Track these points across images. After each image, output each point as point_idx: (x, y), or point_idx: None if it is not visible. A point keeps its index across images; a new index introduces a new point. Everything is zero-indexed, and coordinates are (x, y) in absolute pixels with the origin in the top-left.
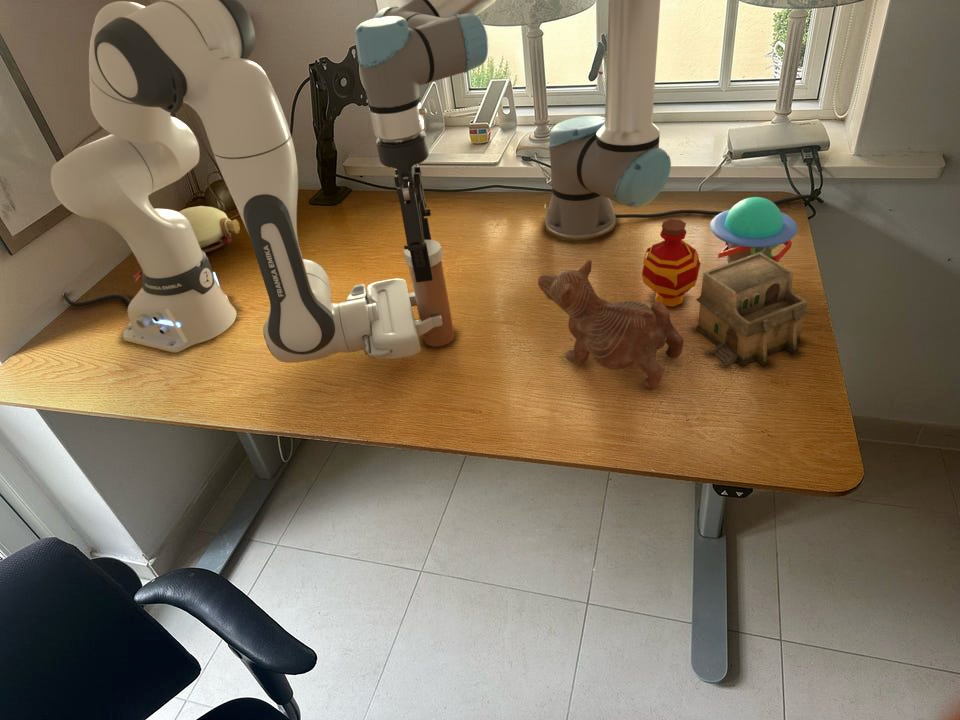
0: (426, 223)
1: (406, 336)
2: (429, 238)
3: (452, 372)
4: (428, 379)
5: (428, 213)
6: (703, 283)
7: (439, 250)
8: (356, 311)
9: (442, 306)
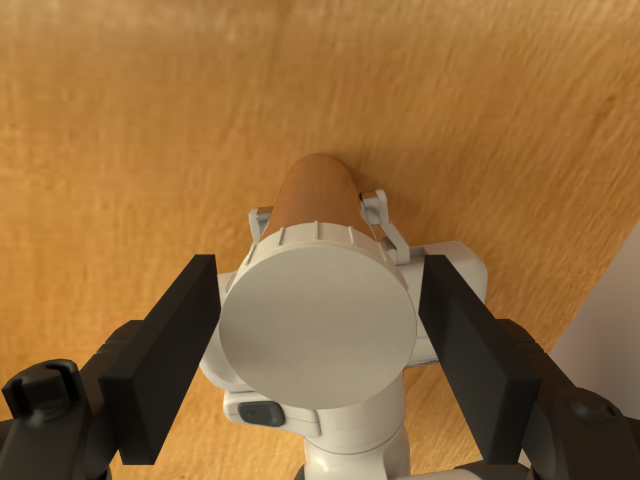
0: (147, 365)
1: (475, 286)
2: (189, 300)
3: (455, 160)
4: (461, 211)
5: (61, 390)
6: None
7: (355, 250)
8: (377, 414)
9: (356, 193)
